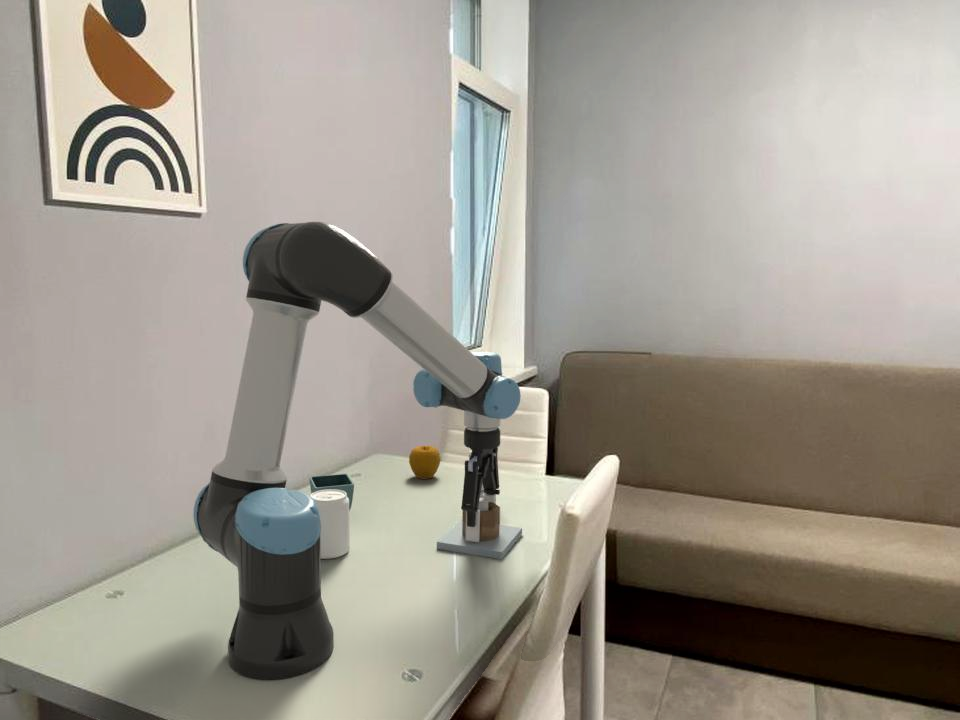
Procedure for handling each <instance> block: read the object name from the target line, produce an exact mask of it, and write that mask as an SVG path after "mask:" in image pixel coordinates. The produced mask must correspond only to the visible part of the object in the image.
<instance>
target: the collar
mask: <svg viewBox="0 0 960 720" xmlns="http://www.w3.org/2000/svg"><path fill="white" fill-rule="evenodd" d="M469 505H470V504H469ZM500 512H501V507H500V506H499V505H498V504H497V503H496V504H495V503H492V502H488V510H487V511H480V533H479V541H480V542H483V541H489V540H495V539H496V538H497V537H498V535H499V528H500V525H501V523H500V520H501V519H500V517H501V516H500V515H501V513H500ZM461 520H462V535H463V536H464V537H466V510H462V519H461Z"/></svg>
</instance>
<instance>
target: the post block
mask: <svg viewBox="0 0 960 720" xmlns="http://www.w3.org/2000/svg"><path fill="white" fill-rule="evenodd" d="M478 510H480V511H487V510H488V499H486V498H480V500H479V505H478ZM521 534H522V535H523V527H520V526H519V527H518V526H511V525H504V524H500V528H499V535H498V537H497V538H496V539H495V540H489V541H483V542H480V541H479V542H474V541H467V540H466V537H464V536H463V535H462V519H460V520H459V521H458V522H457V523H456V524H455V525H454V526H452V527H451V528H450V529H449V530H448V531H447V532H446V533H445V534H443V536H441V537H440V539H438V540H437V541H436V550H437V549H438V550H443V551H448V552H455V553H460V554H466V555H473V556H479V557H487V558H492V559H498V560H503V558H504V557H505V556H506V555H507V554H508V552H509V551H510V550H511V549H512V548H513V546H514V545H515V544H516V543H517V541H519V539H520V538H521V537H522V535H521ZM520 536H521V537H520ZM519 537H520V538H519ZM518 538H519V539H518ZM515 542H516V543H515ZM514 543H515V544H514Z"/></svg>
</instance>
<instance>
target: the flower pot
mask: <svg viewBox="0 0 960 720" xmlns="http://www.w3.org/2000/svg"><path fill="white" fill-rule="evenodd" d="M309 485H310V495H311V494H312V493H313V492H316V491H320V490H326V489H336V490H342V491H344V492H346V494H347V497H348V499H349V512H351V509H352V504H353V499H354V492H355V491H354V490H355V483H354V482H353V480H352V479H351V477H350V475H349V474H348V473H337V474H327V475H315V476H314V475H313V476H309Z"/></svg>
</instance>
